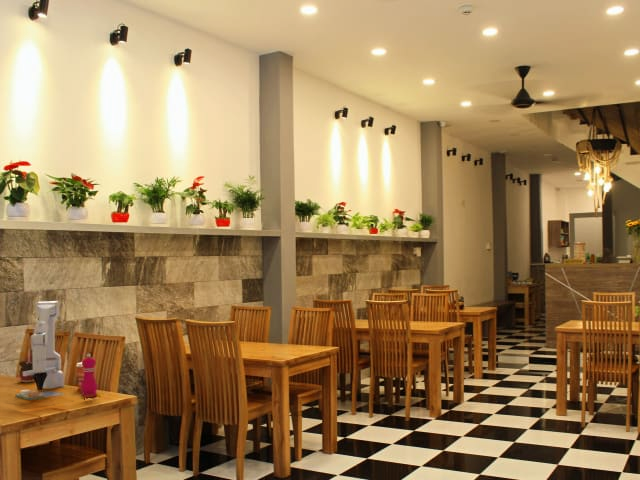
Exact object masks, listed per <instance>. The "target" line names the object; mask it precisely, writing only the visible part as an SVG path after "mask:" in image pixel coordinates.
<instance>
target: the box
mask: <svg viewBox="0 0 640 480" xmlns="http://www.w3.org/2000/svg"><path fill="white" fill-rule="evenodd" d="M15 398H18V399H19V398H20V399H24V400H27V401H33V400H38V399H43V398H45V399H46V397H45V395H42V396H36V397H26V396H22V395H20V393H18V394H17V393H16V394H15Z"/></svg>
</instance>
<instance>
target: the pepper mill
mask: <svg viewBox="0 0 640 480" xmlns="http://www.w3.org/2000/svg"><path fill="white" fill-rule="evenodd" d="M81 362H82V366H83V367H84V368H83V369H84V370H83V371H84V380H83V383H82V386H81V390H80V391H81V392H82V394H81V395H82V396H87V397H85V398H86V400H87V399H88V398H90V399H95V398H97V390H98V388H99V387H98V382H97V381H96V378H95V373H94V372H95V366H96V364H97V363H96V362H97V361H96V359H95V358H94V357H91V354H90V353H87V354H86V357H84V358H83V360H82V361H81ZM88 400H89V399H88Z"/></svg>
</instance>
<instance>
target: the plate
mask: <svg viewBox="0 0 640 480" xmlns="http://www.w3.org/2000/svg"><path fill="white" fill-rule="evenodd" d="M42 395H45V398H49V397H50V398H51V397H56V396H62V395H64V393H61V392H56V391H52V390H47V391H42V392H41V391H40V392H39V396H42Z"/></svg>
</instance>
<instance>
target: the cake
mask: <svg viewBox="0 0 640 480" xmlns="http://www.w3.org/2000/svg"><path fill="white" fill-rule="evenodd" d="M18 365H19V366H20V370H19V371H18V372H19V377H20V379H19V382H23V383H32V382H33V381H34V379H33V377H32V375H28V376H23V372H24V371H29V370H33V352H32V353H31V348H30V346H29V347H27V358H26V360H21V361H20V362H19V363H18ZM37 373H40V372H37ZM34 382H35V381H34Z"/></svg>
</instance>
